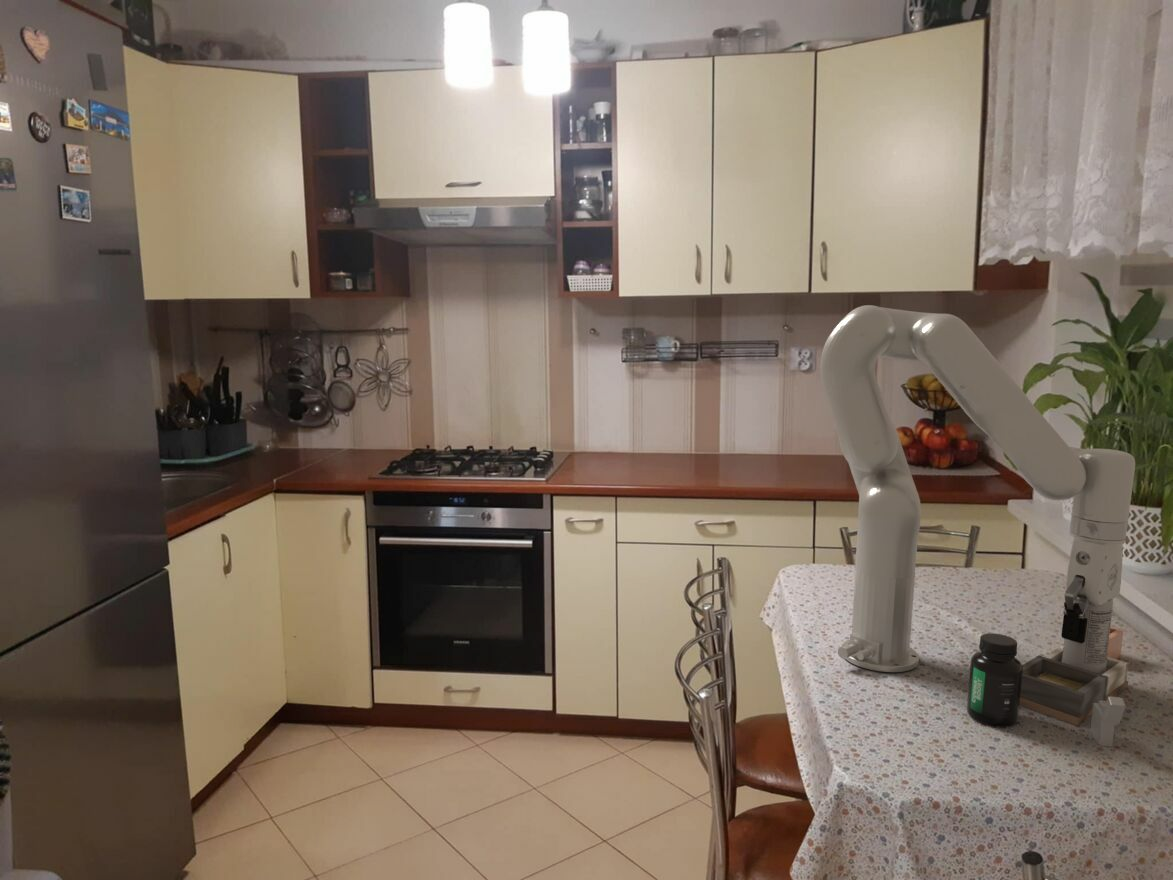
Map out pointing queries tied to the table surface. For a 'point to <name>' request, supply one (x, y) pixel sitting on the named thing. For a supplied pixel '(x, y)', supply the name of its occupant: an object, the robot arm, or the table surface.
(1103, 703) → the grey notched block
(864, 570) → the robot arm
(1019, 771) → the table surface
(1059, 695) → the wooden tray
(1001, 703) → the supplement bottle
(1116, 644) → the square terracotta planter
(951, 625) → the table surface
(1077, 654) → the energy drink can
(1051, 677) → the khaki flat square slab
